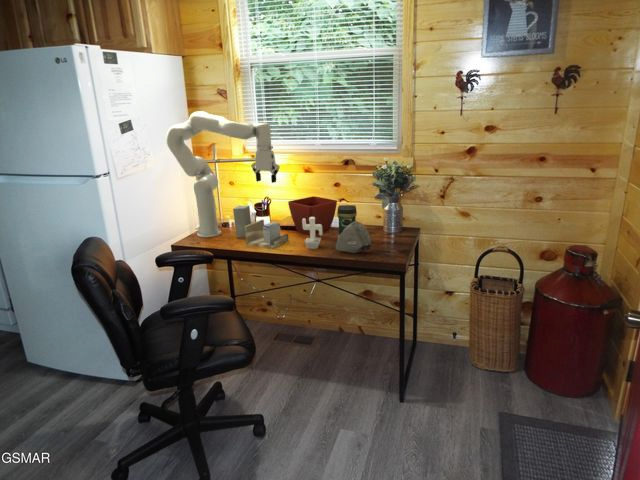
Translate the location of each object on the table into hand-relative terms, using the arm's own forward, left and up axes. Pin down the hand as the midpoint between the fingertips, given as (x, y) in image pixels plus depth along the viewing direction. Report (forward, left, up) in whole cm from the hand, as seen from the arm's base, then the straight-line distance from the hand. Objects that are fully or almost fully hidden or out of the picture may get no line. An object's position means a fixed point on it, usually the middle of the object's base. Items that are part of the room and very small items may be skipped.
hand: (266, 181), depth 241 cm
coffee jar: (+44, +5, -28) cm, 53 cm away
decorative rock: (+54, -9, -29) cm, 62 cm away
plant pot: (+19, +14, -29) cm, 37 cm away
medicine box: (+11, -13, -27) cm, 32 cm away
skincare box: (-11, -8, -28) cm, 32 cm away
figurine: (+33, -10, -28) cm, 45 cm away
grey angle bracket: (+8, -13, -28) cm, 32 cm away
